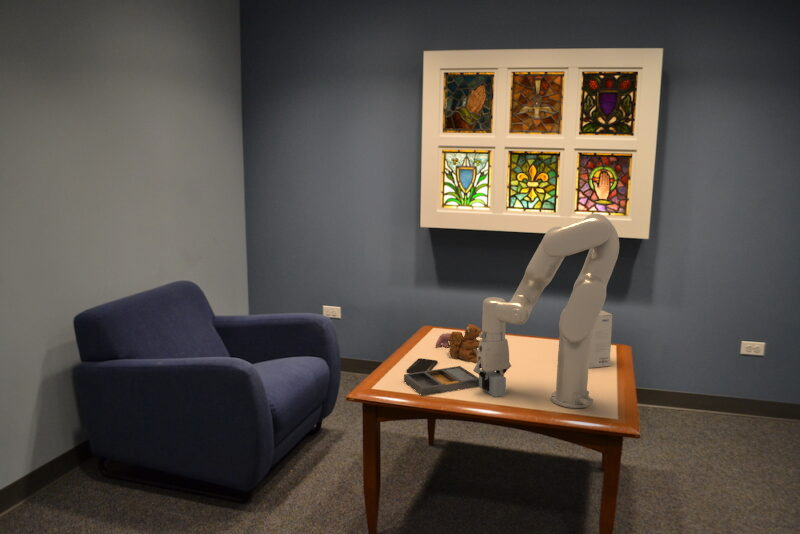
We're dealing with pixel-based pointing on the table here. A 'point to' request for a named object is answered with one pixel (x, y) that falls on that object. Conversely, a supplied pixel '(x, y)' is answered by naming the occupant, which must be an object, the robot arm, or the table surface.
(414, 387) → the gray divided tray
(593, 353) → the grey carton box
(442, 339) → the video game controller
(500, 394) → the gray rectangular block
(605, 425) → the table surface
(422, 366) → the phone
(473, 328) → the stuffed squirrel
